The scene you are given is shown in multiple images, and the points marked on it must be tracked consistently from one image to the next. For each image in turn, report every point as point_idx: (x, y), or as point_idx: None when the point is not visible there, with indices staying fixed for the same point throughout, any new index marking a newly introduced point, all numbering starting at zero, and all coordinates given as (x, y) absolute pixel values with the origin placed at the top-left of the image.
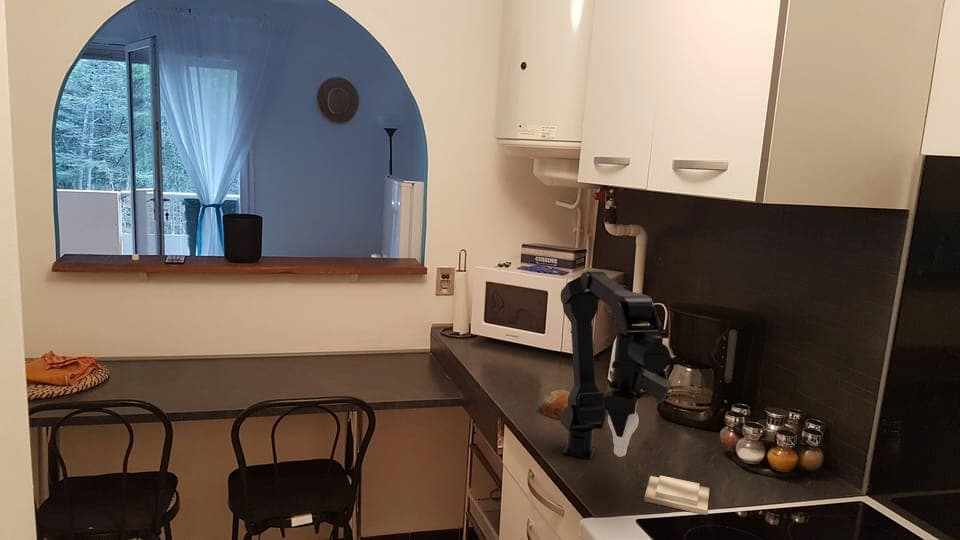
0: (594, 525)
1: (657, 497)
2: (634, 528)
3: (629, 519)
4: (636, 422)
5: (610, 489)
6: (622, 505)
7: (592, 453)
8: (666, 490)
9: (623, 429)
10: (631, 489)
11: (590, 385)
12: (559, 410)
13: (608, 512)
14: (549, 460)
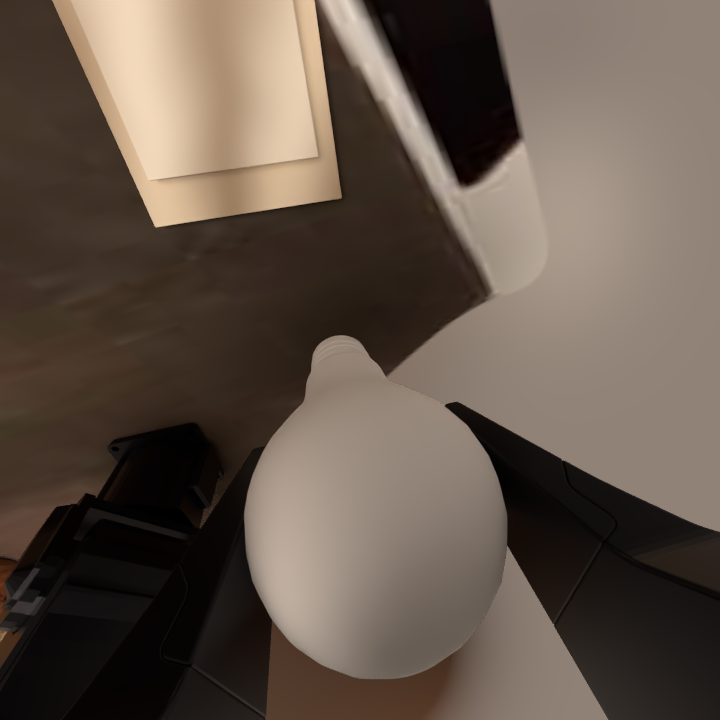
0: (529, 278)
1: (319, 147)
2: (515, 176)
3: (471, 206)
4: (420, 421)
5: (328, 314)
6: (401, 252)
7: (160, 433)
8: (275, 110)
9: (507, 432)
10: (285, 261)
11: None
12: (6, 596)
13: (456, 272)
14: None
